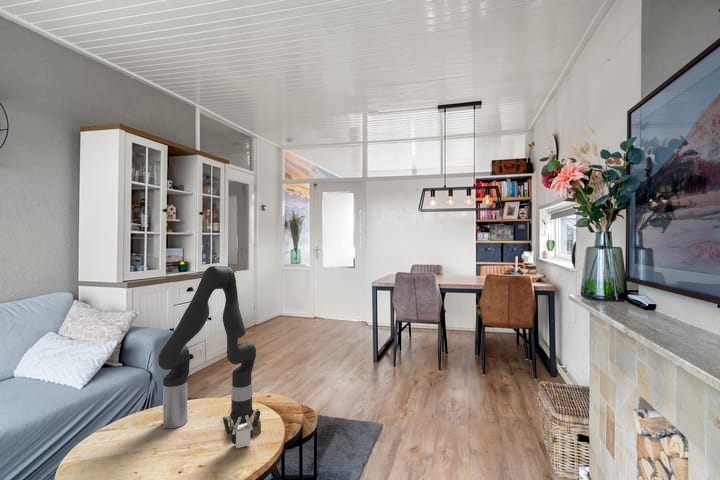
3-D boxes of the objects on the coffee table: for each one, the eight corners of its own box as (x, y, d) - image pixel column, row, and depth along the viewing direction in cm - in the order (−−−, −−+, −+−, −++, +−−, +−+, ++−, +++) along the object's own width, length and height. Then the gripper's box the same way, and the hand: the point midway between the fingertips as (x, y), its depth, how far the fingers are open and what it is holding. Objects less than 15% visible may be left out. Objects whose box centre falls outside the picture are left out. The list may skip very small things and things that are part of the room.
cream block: (236, 448, 138) (236, 432, 138) (233, 442, 142) (233, 426, 142) (250, 444, 140) (250, 428, 140) (246, 438, 145) (246, 423, 145)
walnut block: (232, 439, 146) (232, 426, 146) (229, 427, 156) (229, 415, 156) (260, 433, 151) (260, 421, 151) (256, 421, 161) (256, 410, 161)
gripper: (257, 388, 148) (257, 431, 148) (220, 396, 141) (220, 441, 141) (263, 395, 142) (263, 440, 142) (224, 404, 134) (224, 451, 134)
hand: (241, 440), depth 141 cm, fingers closed on cream block, 5 cm apart
